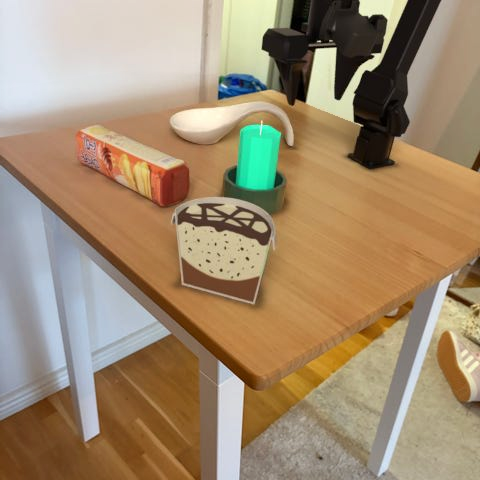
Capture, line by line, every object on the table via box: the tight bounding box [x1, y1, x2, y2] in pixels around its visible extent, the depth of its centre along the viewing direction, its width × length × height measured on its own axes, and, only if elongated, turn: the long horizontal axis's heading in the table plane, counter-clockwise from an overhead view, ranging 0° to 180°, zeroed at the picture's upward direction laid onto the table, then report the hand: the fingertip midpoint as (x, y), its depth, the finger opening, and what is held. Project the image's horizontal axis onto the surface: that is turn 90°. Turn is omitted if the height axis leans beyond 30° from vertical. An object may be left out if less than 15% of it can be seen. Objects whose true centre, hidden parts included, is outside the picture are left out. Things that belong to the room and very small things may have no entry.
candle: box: [236, 120, 282, 189], centre depth 79 cm, size 6×6×12 cm
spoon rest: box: [169, 100, 295, 147], centre depth 100 cm, size 24×12×7 cm, turn 95°
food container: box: [170, 196, 278, 306], centre depth 63 cm, size 12×6×10 cm, turn 71°
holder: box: [221, 164, 288, 215], centre depth 82 cm, size 10×10×4 cm
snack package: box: [75, 124, 191, 208], centre depth 83 cm, size 21×7×7 cm, turn 48°
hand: (314, 102), depth 82 cm, fingers open, 9 cm apart
